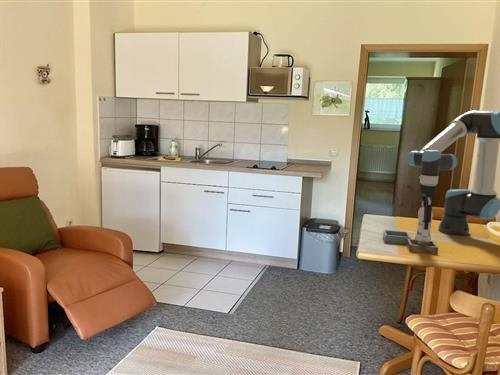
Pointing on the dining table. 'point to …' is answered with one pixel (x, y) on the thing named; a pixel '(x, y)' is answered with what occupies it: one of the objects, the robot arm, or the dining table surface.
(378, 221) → the dining table surface
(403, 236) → the grey tray
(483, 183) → the robot arm
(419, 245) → the walnut collar
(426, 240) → the silver metal bottle
